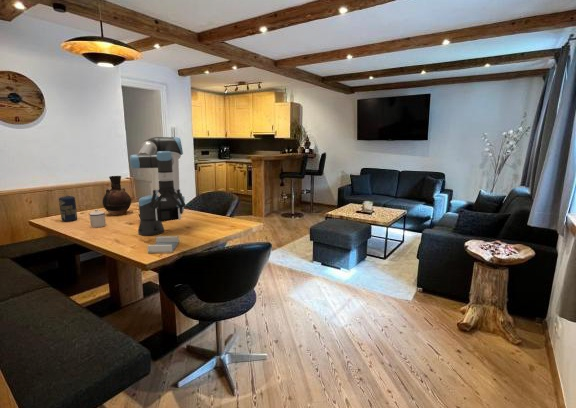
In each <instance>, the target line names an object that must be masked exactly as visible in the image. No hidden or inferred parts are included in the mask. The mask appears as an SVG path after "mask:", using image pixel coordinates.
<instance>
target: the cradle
mask: <svg viewBox="0 0 576 408" xmlns="http://www.w3.org/2000/svg"><path fill="white" fill-rule="evenodd" d="M179 243H180V238H179V235H173V236H171V235H170V236H164V235H163V236H160V235H159V236H156V237H155V243H154V244H148V245H147V247H146V248H147V254H171V253H173V252H174V250H175V249H176V248H177V247H178V245H179Z"/></svg>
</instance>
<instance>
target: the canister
mask: <svg viewBox="0 0 576 408" xmlns="http://www.w3.org/2000/svg"><path fill="white" fill-rule="evenodd" d="M58 204H59V210H60V218H61V221H62V222H72V221H76V220H77V219H78V212H77V206H76V205H77V203H76V197H75V196H71V195H65V196H60V197H59V198H58Z"/></svg>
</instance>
